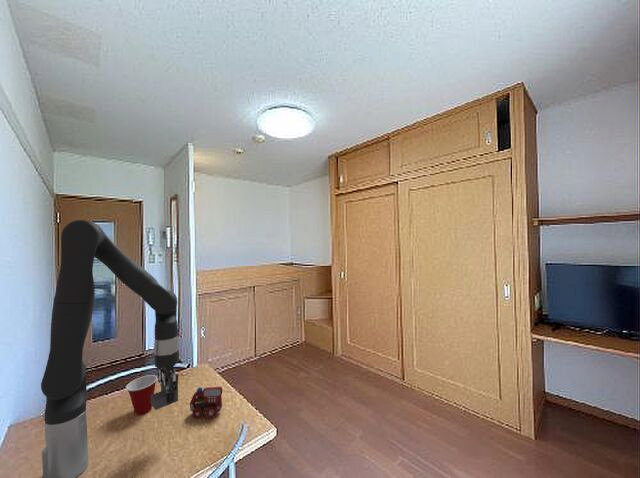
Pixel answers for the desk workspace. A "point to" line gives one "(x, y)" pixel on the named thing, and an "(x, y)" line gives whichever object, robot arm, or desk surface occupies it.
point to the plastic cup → (142, 393)
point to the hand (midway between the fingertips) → (167, 399)
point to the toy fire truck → (206, 402)
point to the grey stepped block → (162, 398)
